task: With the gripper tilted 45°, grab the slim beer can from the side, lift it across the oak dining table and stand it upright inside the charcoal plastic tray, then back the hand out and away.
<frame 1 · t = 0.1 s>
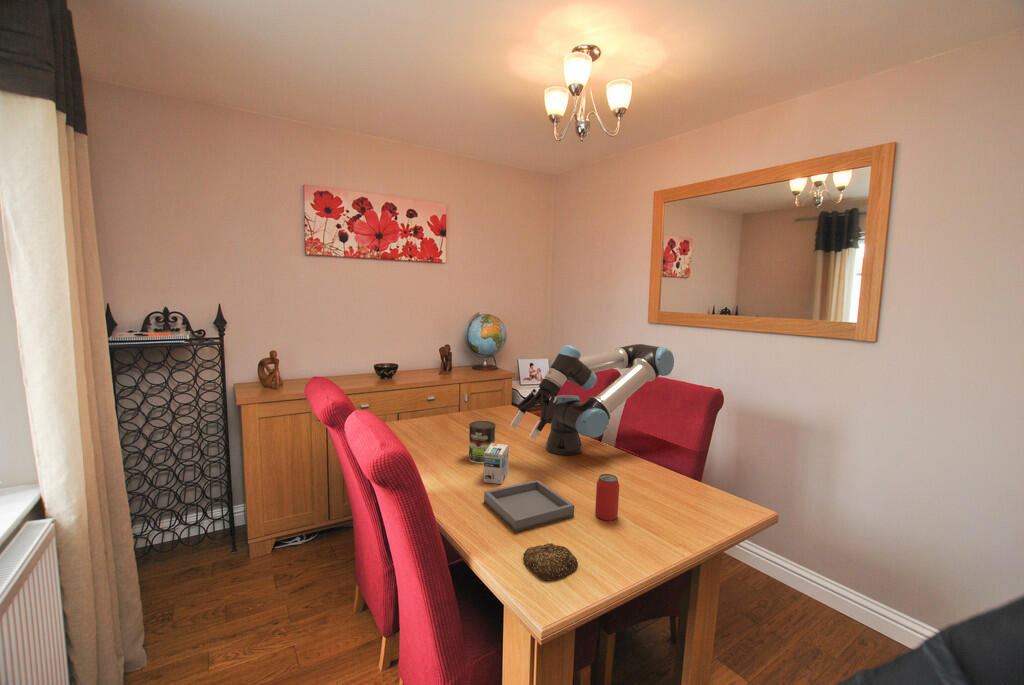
hand: (522, 432, 162), 15 cm above the table, tool tilted 35°, fingers open, 13 cm apart
tray: (527, 509, 137), on the table
light bulb box: (496, 478, 159), on the table
beer can: (606, 516, 134), on the table
coffee can: (481, 459, 176), on the table
bread roll: (551, 565, 110), on the table
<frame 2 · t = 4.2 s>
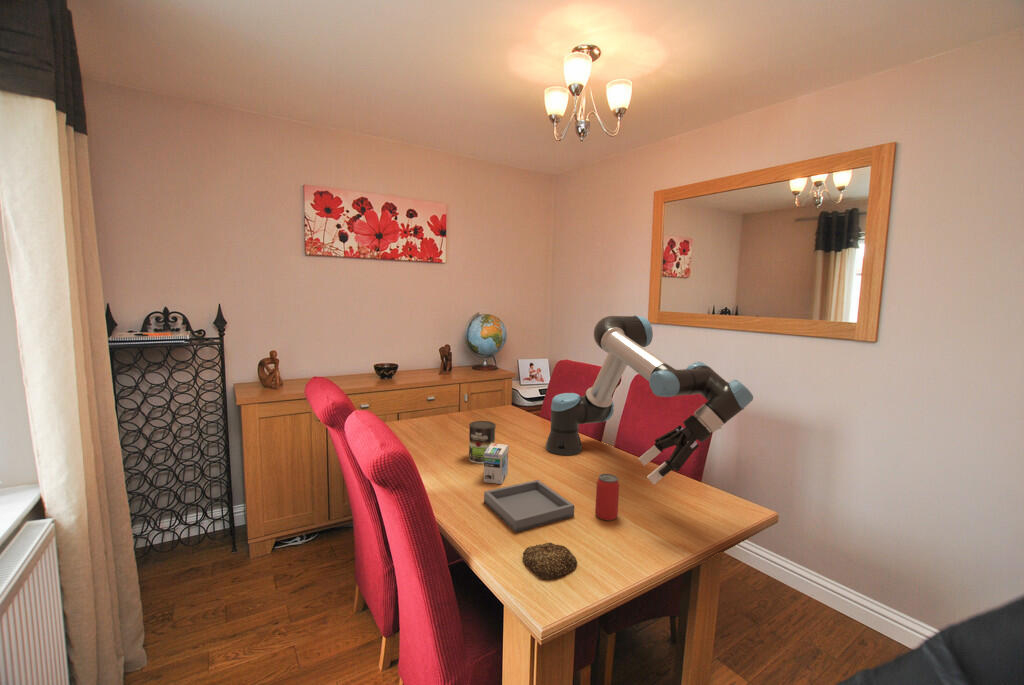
hand: (645, 471, 131), 15 cm above the table, tool tilted 45°, fingers open, 13 cm apart
nothing on the table moved.
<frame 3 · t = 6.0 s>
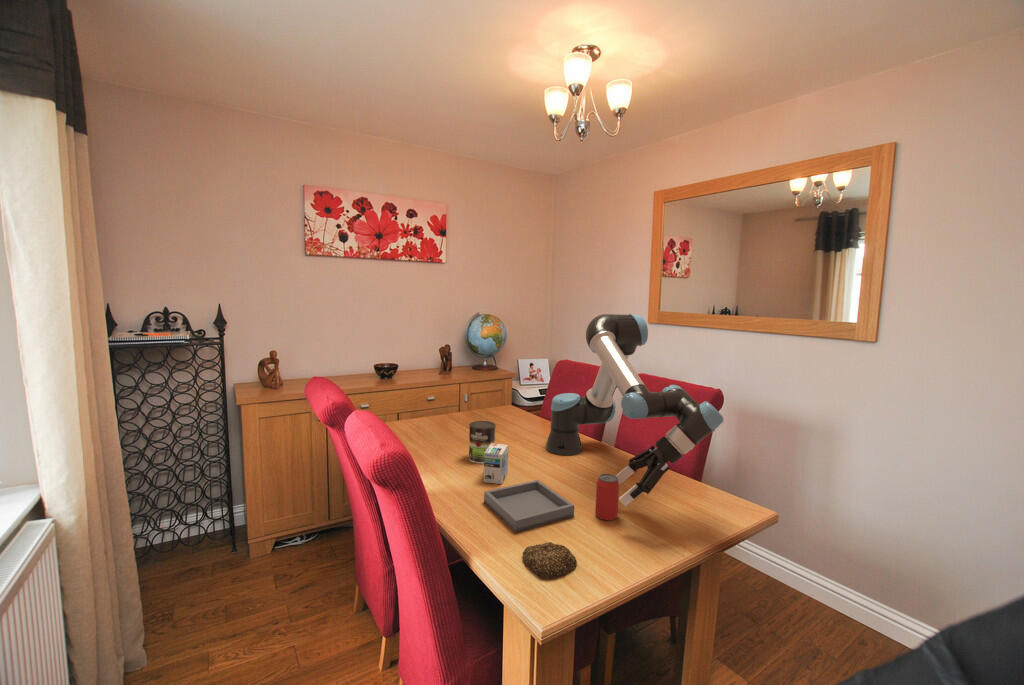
hand: (618, 492, 132), 8 cm above the table, tool tilted 45°, fingers open, 13 cm apart
nothing on the table moved.
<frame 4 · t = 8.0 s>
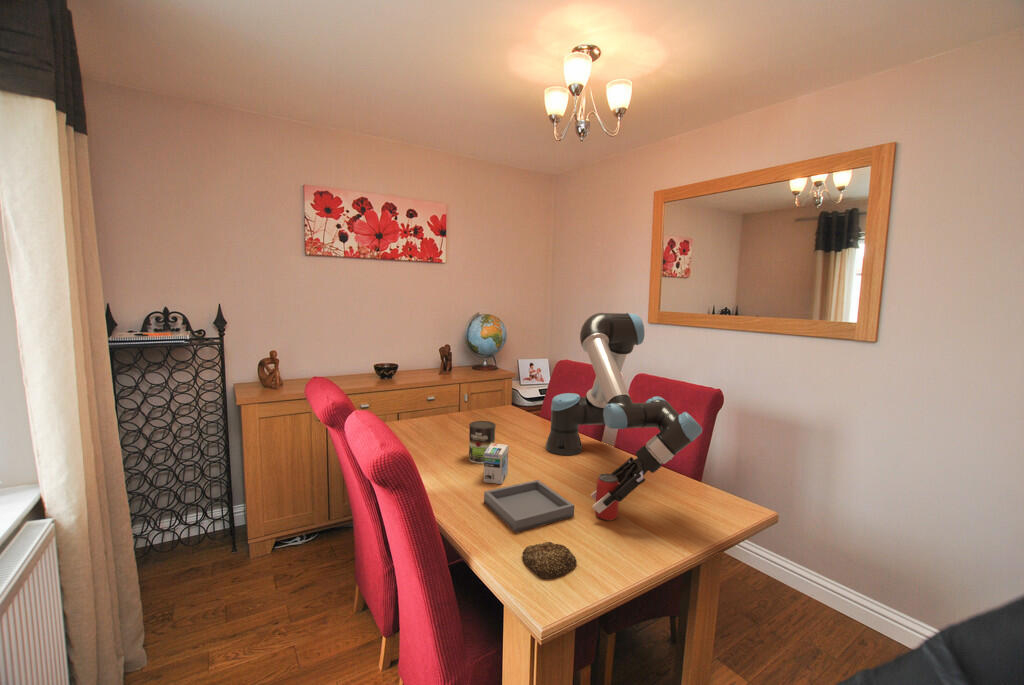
hand: (594, 503, 134), 3 cm above the table, tool tilted 45°, fingers closed on beer can, 6 cm apart
beer can: (606, 516, 134), on the table, touching gripper
everything else where it was.
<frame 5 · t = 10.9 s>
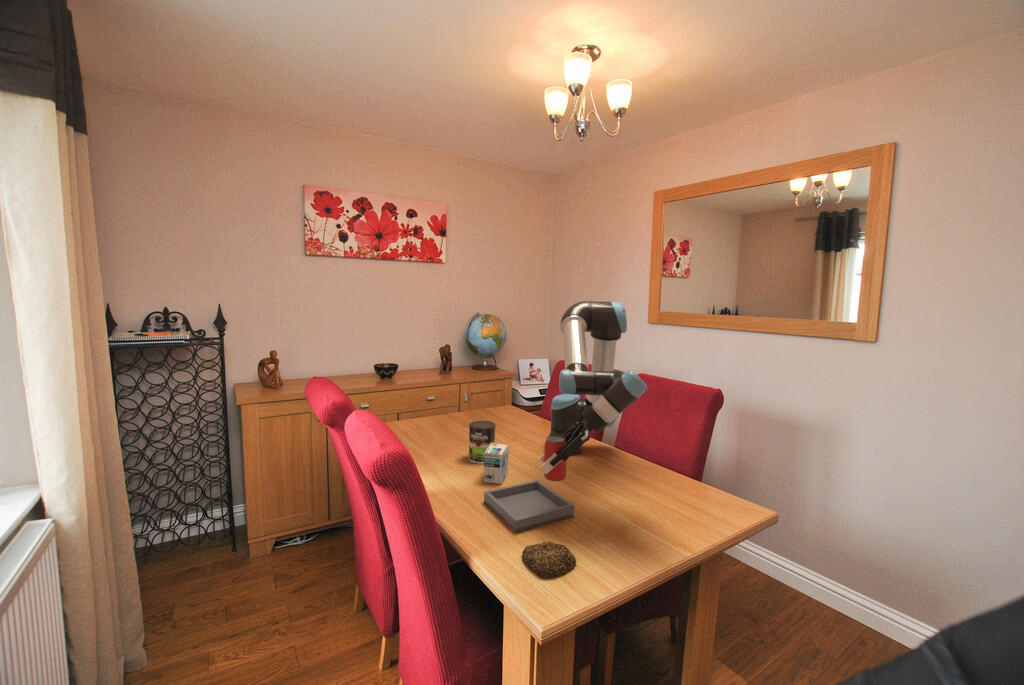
hand: (542, 465, 133), 15 cm above the table, tool tilted 45°, fingers closed on beer can, 6 cm apart
beer can: (554, 478, 133), point 11 cm above the table, touching gripper
everything else where it was.
when the fingers open (6 cm above the table, at t = 13.6 s): beer can drops 1 cm, resting on tray.
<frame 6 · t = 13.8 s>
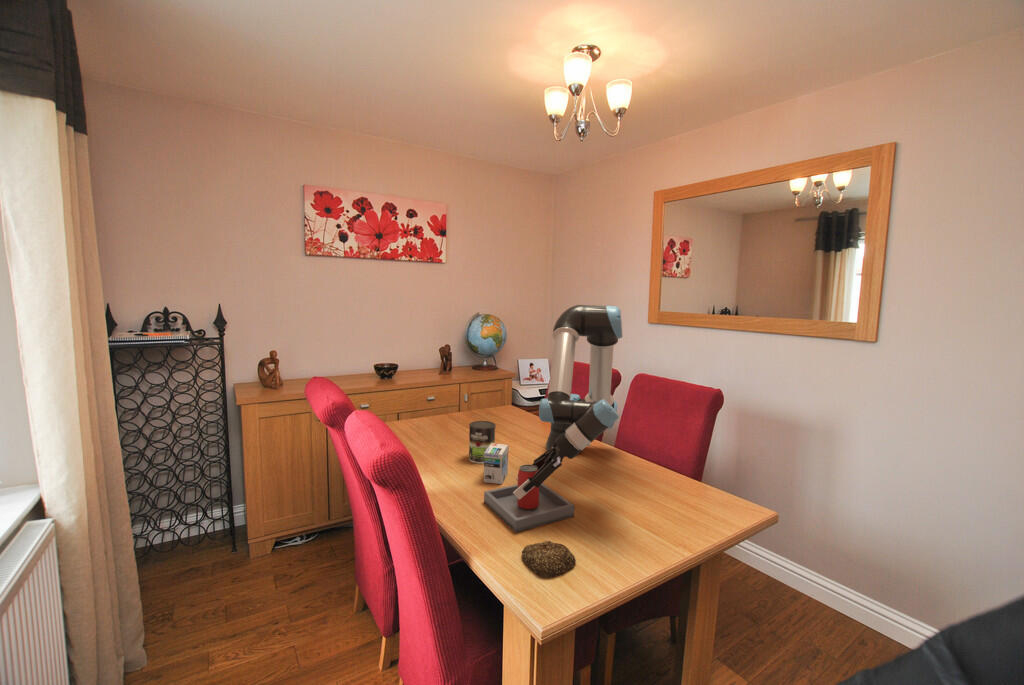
hand: (517, 488, 136), 6 cm above the table, tool tilted 45°, fingers open, 9 cm apart
beer can: (528, 506, 136), point 1 cm above the table, touching tray
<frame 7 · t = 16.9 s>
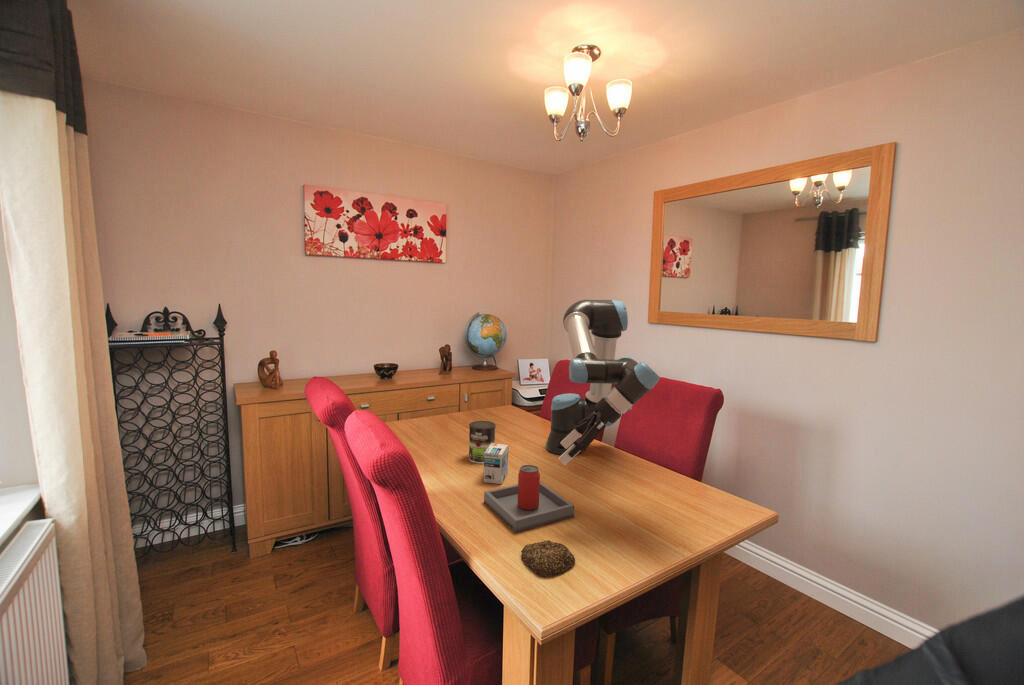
hand: (562, 453, 135), 18 cm above the table, tool tilted 40°, fingers open, 13 cm apart
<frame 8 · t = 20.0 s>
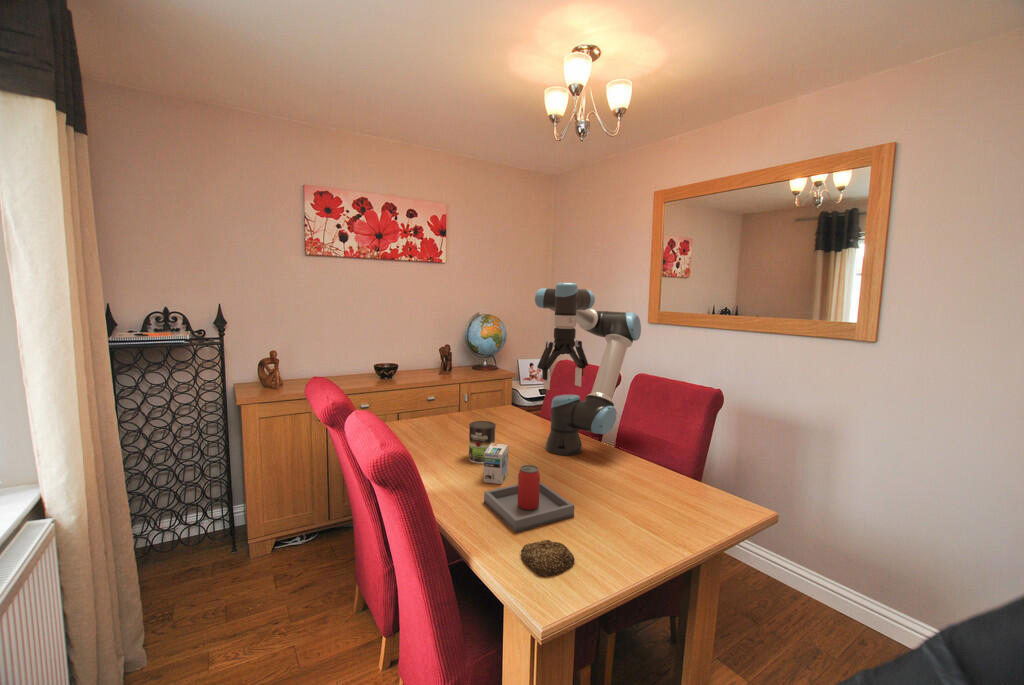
hand: (562, 387, 158), 33 cm above the table, tool pointing down, fingers open, 13 cm apart
at the end: beer can inside the target area on the tray (0.1 cm from its centre), point 0.8 cm above the tray's base; beer can tilted 0°; the gripper is holding nothing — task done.
